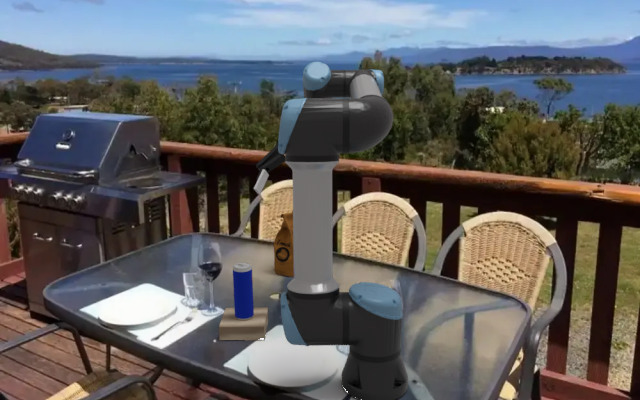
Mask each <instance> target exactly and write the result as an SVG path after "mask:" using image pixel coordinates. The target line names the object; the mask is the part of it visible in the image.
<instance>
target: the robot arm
mask: <svg viewBox="0 0 640 400" xmlns="http://www.w3.org/2000/svg"><path fill="white" fill-rule="evenodd" d="M302 87H303V89H302V90H303V98H293V99H289V100H286V102H285V103H284V105H283V107H282V109H281V116H280V122H279V129H278V131H279V132H278V141H277V142H276V143H275V145H274V147H273V148H272V149H271V150H270V151H268V152H267V153H266V155H264V157H263V158H261V159H260V160H259V161H258V162H257V163H256V165H255V166H256V168H257V169H258V171H259V172H258V174H257V177H256V183H255V185H254V186H253V191H255V192H256V194H257V195H261V193H262V191H263V190H264V187H265V185H266V182H267V180H268V178H269V176H270V175H269V173H270V172H271V171H273V170H275V168H278V167H279V166H281V164H283V163H284V162H285V164H286V165H287V166H288V167H289V168H290V169H291V171H292V211H293V249H294V277H292V279H291V280H290V281H289V282H288V283H287V284H286V291H284V292H282V293H281V294H280V309H281V310H280V312H281V313H280V315H281V322H282V328H283V333H284V336H285V340H286V341H287V342H288V343H289V344H290V345H293V346H305V347H310V346H313V347H314V346H318V347H319V346H348V349H349V351H348V355H347V358H346V361H345V363H344V365H343V369H342V370H341V371H342V372H341V386H342V385H343V387H344V388H345V389H346V391H348V393H349V394H348V395H349V396H350V395H351V396H350V397H352V396H353V397H356V398H358V399H362V400H398V399H400V398H401V397H403V396H404V395H405V394H406V392H407V390H408V387H409V377H408V376H409V375H408V373H407V369H406V366H405V363H404V360H403V356H402V323H403V322H402V321H403V320H402V318H403V316H404V313H403V304H402V303H403V301H402V298H401V295H400V294H399V293H398V292H397V291H396V290H394V288H391V287H389V286H388V285H385V284H382V283H381V284H380V283H377V282H370V281H367V282H366V281H361V282H358V283H353V284H352V285H351V286H350V287H349V289H348V291H340V283H339V282H338V281H337V280H336V279H335V278H334V277H333V275H334V274H333V265H334V264H333V169H335V167H336V166H337V165H338V164H339V162H340V154H356V153H360V152H365V151H367V150H369V149H371V148H373V147H375V146H376V145H378V144H380V142H382V141H383V140H384V139H385V138H386V137H387V135H389V133H390V131H391V129H392V126H393V124H394V123H393V122H394V113H393V110H392V106H391V104H390V103H389V102H388V101H387V99H385V98H384V97H382V96H383V94H384V88H385V77H384V72H383V71H382V70H380V69H371V68H369V69H330V66H328V65H327V64H326V63H324V62H321V61H313V62H310V63H308V64H307V65H306V66H305V67H304V69H303V73H302ZM343 387H342V388H343ZM353 397H352V398H353ZM356 398H355V399H356ZM358 399H357V400H358Z"/></svg>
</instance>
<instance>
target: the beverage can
mask: <svg viewBox="0 0 640 400" xmlns="http://www.w3.org/2000/svg"><path fill="white" fill-rule="evenodd" d="M232 282H233V283H232V285H233V302H234V307H233V308H235V317H236V318H237V319H239V320H248V319H251V318H252V317H253V315H254V308H255V307H254V287H253V285H254V283H253V282H254V281H253V267H252V264H251V263H249V262H236V263H235V264H233V267H232Z"/></svg>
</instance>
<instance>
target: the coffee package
mask: <svg viewBox="0 0 640 400" xmlns="http://www.w3.org/2000/svg"><path fill="white" fill-rule="evenodd" d="M279 217H280V218H281V219H282V220H283V221H282V223H281V225H280V229H279V230H278V231H277V234H276V235H275V238H274V242H273V252H274V253H273V254H274V256H273V257H274V260H273V261H274V268H273V270H274V272H275V274H276V275H281V276H286V277H291V278H294V249H293V210H291V212H288V213H281V215H280V216H279Z"/></svg>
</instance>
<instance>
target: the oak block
mask: <svg viewBox="0 0 640 400" xmlns="http://www.w3.org/2000/svg"><path fill="white" fill-rule="evenodd" d="M268 324H269V307H254V315H253V317H252V318H251V319H248V320H239V319H237V318H236V317H235V307H225V309H224V311H223V315H222V317H221V320H220V323H219V326H218V334H219V341H220V340H245V341H259V340H258V339H260V338H265V339H266V336H267V330H268ZM265 335H266V336H265Z"/></svg>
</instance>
